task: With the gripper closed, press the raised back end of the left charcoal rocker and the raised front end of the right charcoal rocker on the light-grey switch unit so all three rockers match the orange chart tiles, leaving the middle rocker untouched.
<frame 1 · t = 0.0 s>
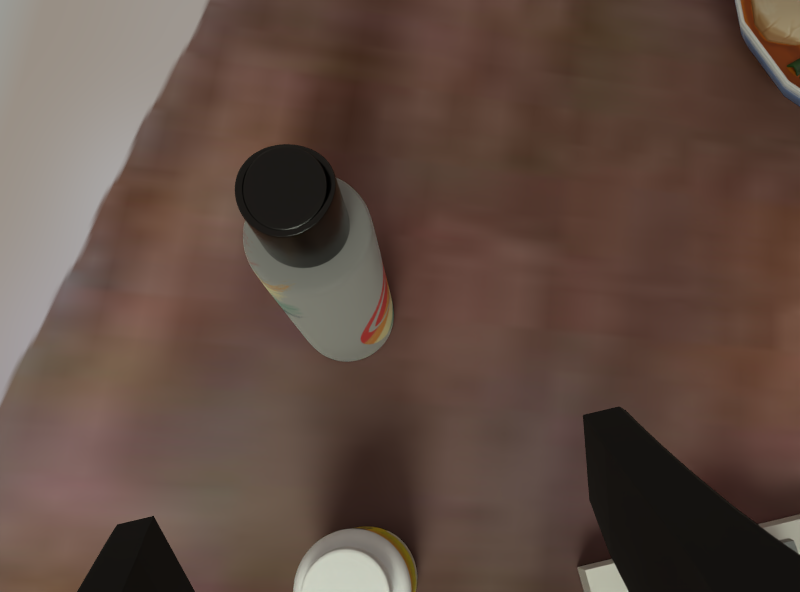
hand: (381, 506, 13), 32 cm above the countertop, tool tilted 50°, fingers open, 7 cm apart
lotion bottle: (349, 319, 47), on the countertop
supplement bottle: (368, 577, 43), on the countertop
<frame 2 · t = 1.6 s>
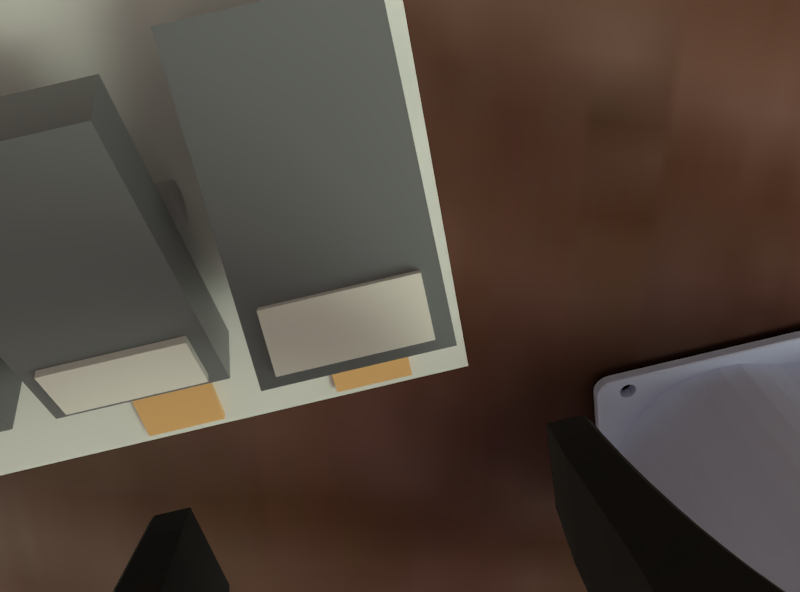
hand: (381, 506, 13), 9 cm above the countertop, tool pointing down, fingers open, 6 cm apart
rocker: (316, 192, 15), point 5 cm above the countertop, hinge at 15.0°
switch unit: (113, 170, 19), on the countertop
rocker middle: (73, 274, 15), point 5 cm above the countertop, hinge at -15.0°
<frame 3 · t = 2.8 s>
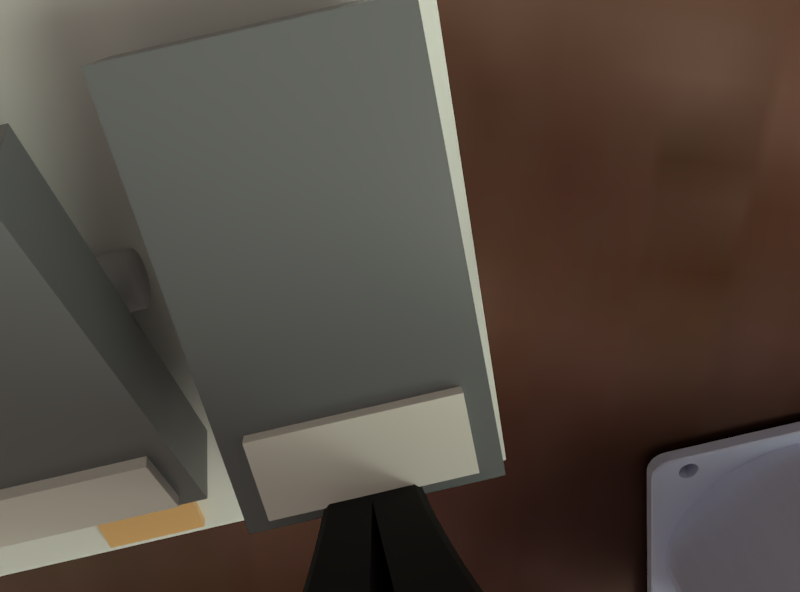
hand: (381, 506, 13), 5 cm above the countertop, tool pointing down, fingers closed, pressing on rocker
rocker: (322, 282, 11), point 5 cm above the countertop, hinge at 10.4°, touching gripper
switch unit: (62, 221, 15), on the countertop
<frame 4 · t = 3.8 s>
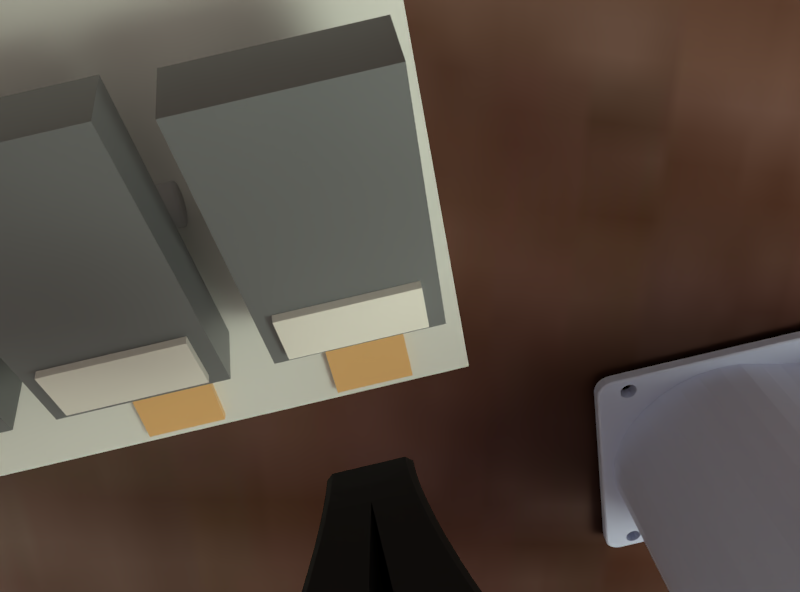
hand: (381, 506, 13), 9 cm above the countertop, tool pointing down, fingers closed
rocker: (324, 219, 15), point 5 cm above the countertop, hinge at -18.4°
switch unit: (113, 170, 19), on the countertop
rocker middle: (74, 274, 15), point 5 cm above the countertop, hinge at -15.0°
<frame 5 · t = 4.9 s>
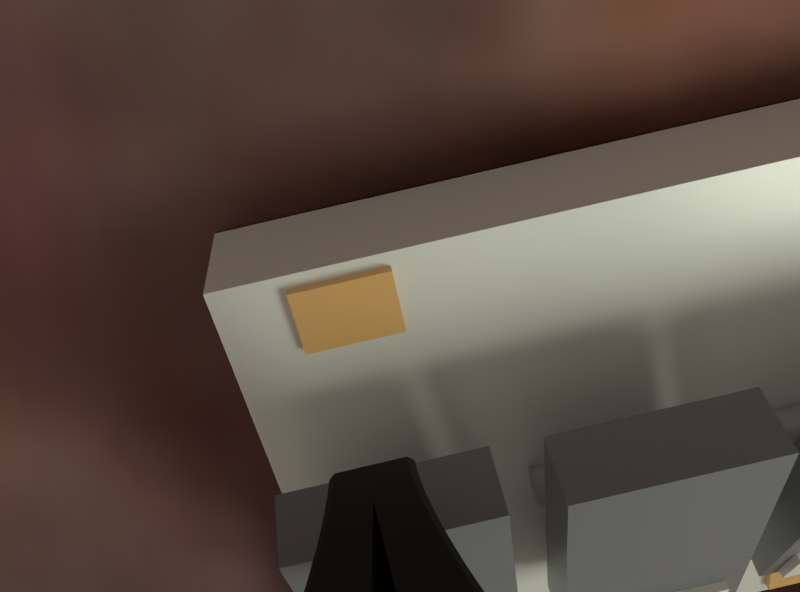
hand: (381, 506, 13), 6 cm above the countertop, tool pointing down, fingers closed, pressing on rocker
switch unit: (578, 387, 20), on the countertop
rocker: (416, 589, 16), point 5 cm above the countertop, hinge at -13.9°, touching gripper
rocker middle: (651, 535, 16), point 5 cm above the countertop, hinge at -15.0°
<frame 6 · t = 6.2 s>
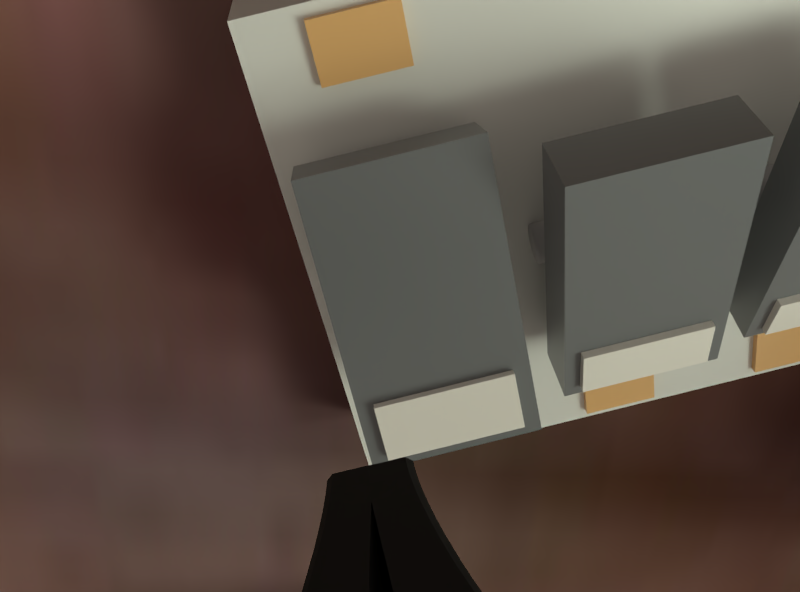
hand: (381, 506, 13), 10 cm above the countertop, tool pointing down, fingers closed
switch unit: (574, 175, 21), on the countertop
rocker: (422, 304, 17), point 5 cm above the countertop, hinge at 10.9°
rocker middle: (642, 267, 17), point 5 cm above the countertop, hinge at -15.0°
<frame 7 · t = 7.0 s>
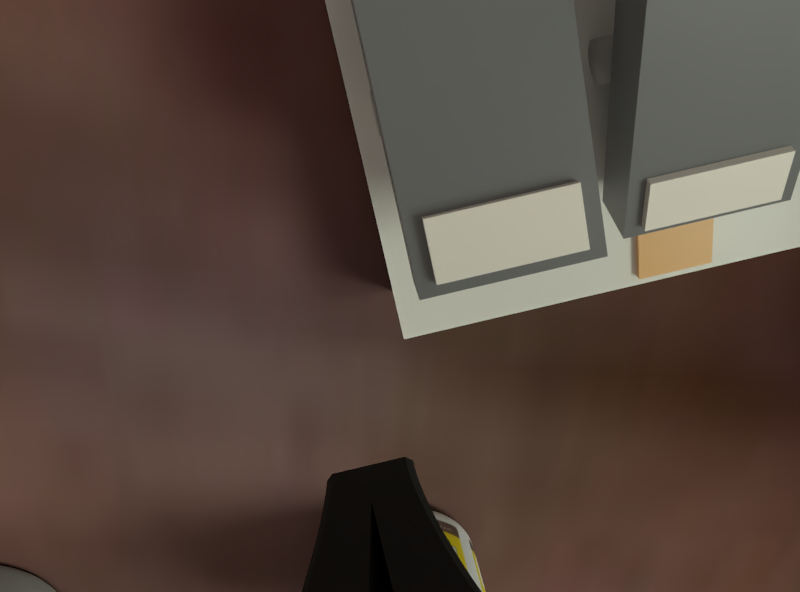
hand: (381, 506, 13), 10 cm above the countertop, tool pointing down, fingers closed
switch unit: (631, 13, 19), on the countertop
supplement bottle: (398, 547, 29), on the countertop
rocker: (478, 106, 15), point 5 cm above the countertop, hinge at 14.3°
rocker middle: (720, 74, 16), point 5 cm above the countertop, hinge at -15.0°
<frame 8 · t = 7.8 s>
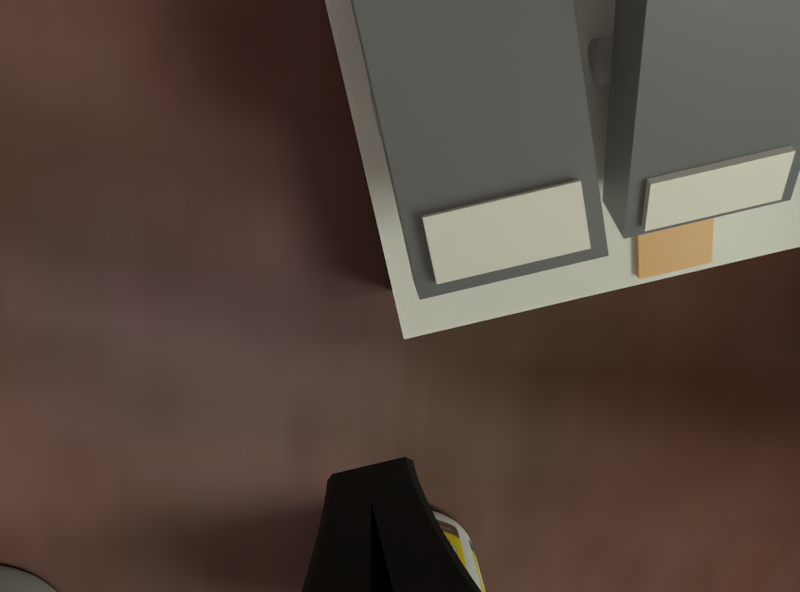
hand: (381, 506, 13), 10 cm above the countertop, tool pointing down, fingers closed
switch unit: (631, 13, 19), on the countertop
supplement bottle: (398, 547, 29), on the countertop
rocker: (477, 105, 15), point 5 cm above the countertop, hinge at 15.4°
rocker middle: (720, 74, 16), point 5 cm above the countertop, hinge at -15.0°
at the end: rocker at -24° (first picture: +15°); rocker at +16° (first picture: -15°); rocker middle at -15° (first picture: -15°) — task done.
